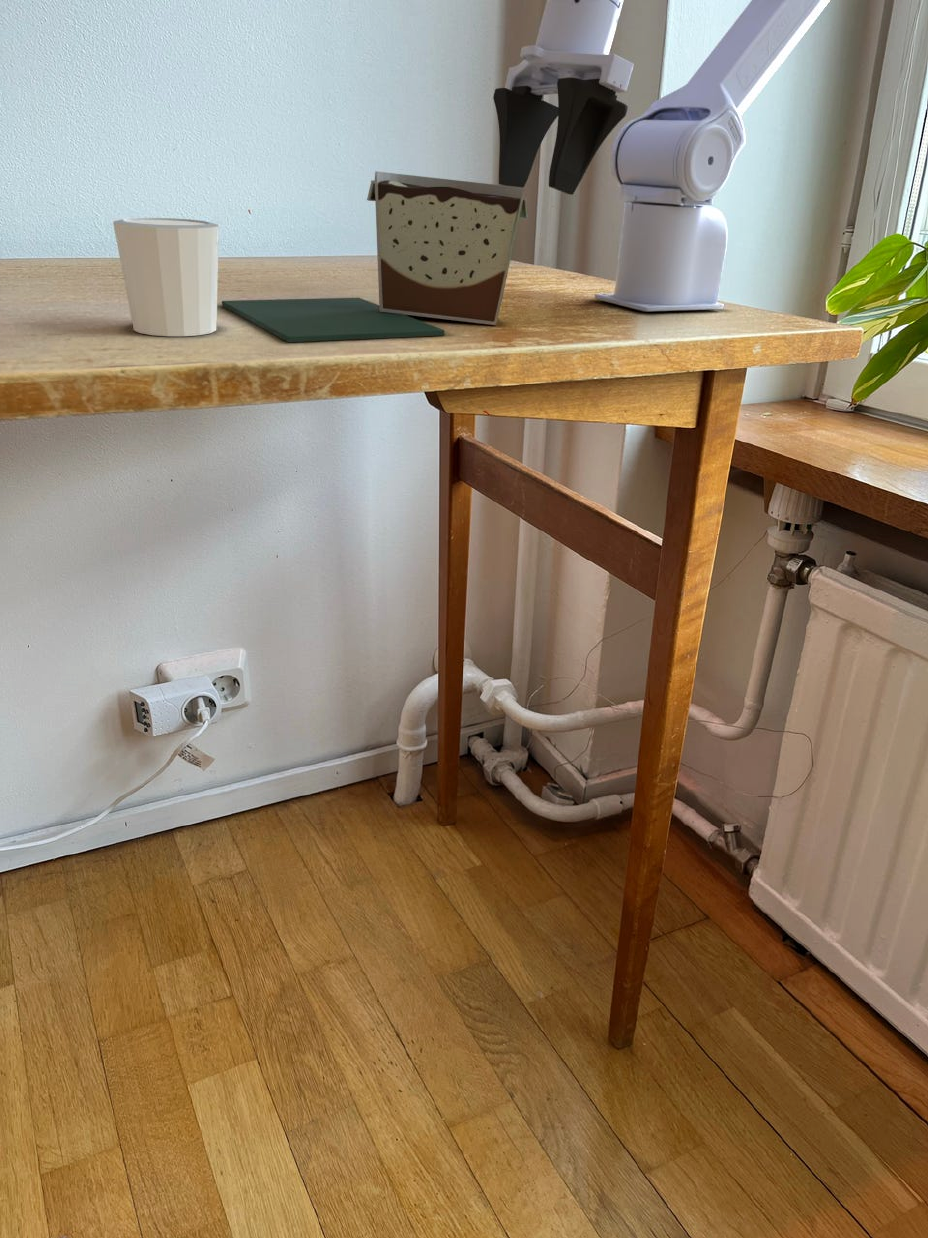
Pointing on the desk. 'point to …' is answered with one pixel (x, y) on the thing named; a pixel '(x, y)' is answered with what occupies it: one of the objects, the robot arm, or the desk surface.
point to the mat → (328, 319)
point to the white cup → (170, 274)
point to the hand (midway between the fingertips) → (534, 188)
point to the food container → (444, 245)
